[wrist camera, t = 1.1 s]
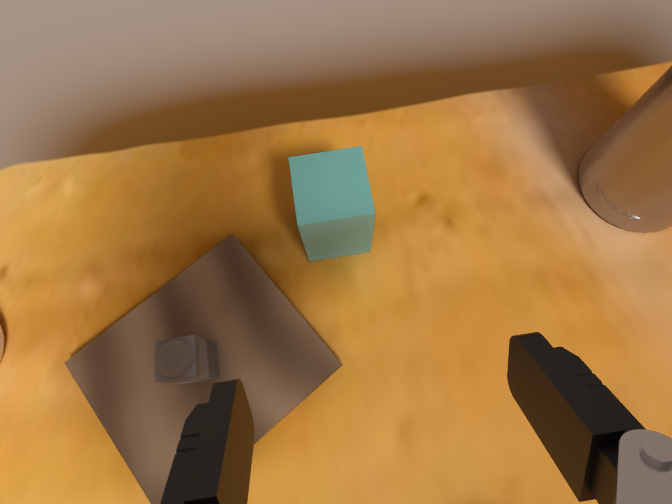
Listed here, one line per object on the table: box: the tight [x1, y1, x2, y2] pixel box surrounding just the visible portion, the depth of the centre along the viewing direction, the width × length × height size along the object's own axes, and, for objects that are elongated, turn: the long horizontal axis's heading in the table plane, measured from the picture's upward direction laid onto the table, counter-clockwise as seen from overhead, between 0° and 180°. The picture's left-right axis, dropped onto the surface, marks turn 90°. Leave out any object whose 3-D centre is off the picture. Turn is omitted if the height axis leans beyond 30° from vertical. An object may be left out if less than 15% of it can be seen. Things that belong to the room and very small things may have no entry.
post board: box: [64, 234, 342, 504], centre depth 29 cm, size 16×14×7 cm
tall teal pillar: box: [288, 146, 375, 261], centre depth 32 cm, size 5×5×8 cm
